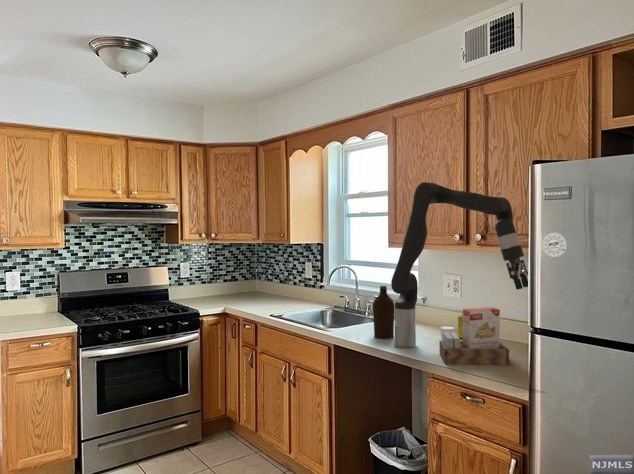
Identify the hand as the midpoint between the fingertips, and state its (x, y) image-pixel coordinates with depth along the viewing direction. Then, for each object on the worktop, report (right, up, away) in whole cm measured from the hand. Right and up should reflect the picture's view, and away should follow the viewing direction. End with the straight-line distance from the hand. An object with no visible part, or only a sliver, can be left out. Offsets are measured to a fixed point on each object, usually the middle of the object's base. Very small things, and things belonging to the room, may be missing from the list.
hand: (523, 288), depth 186 cm
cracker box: (-11, -31, +14) cm, 36 cm away
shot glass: (-17, -30, +43) cm, 55 cm away
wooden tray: (-14, -31, +15) cm, 37 cm away
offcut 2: (-22, -31, +15) cm, 41 cm away
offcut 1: (-24, -31, +16) cm, 42 cm away
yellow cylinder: (-6, -30, +50) cm, 58 cm away
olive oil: (-45, -30, +57) cm, 78 cm away
